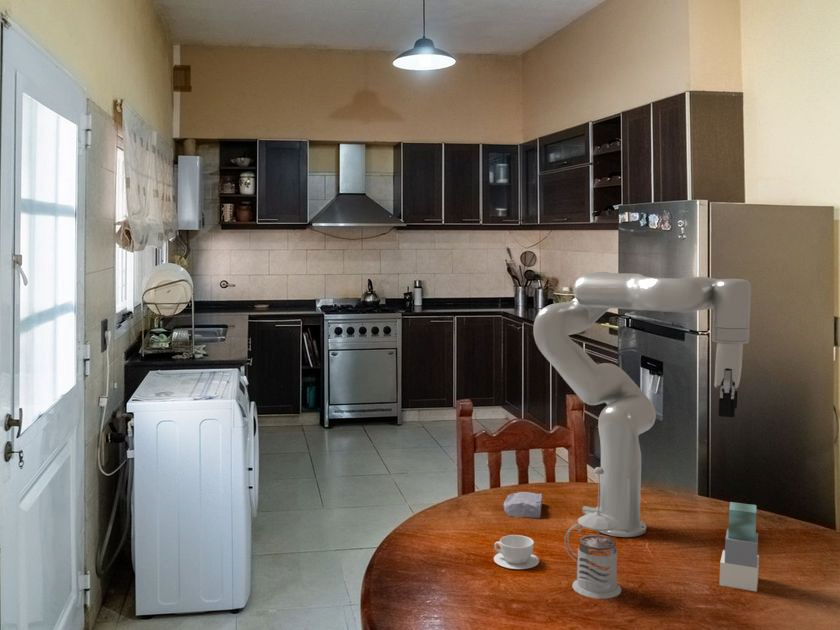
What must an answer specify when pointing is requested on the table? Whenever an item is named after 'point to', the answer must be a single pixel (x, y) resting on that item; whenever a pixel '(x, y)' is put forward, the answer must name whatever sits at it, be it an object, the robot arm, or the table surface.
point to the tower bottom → (738, 575)
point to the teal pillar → (742, 521)
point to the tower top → (741, 551)
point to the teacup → (516, 552)
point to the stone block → (523, 505)
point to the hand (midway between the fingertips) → (727, 412)
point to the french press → (596, 578)
